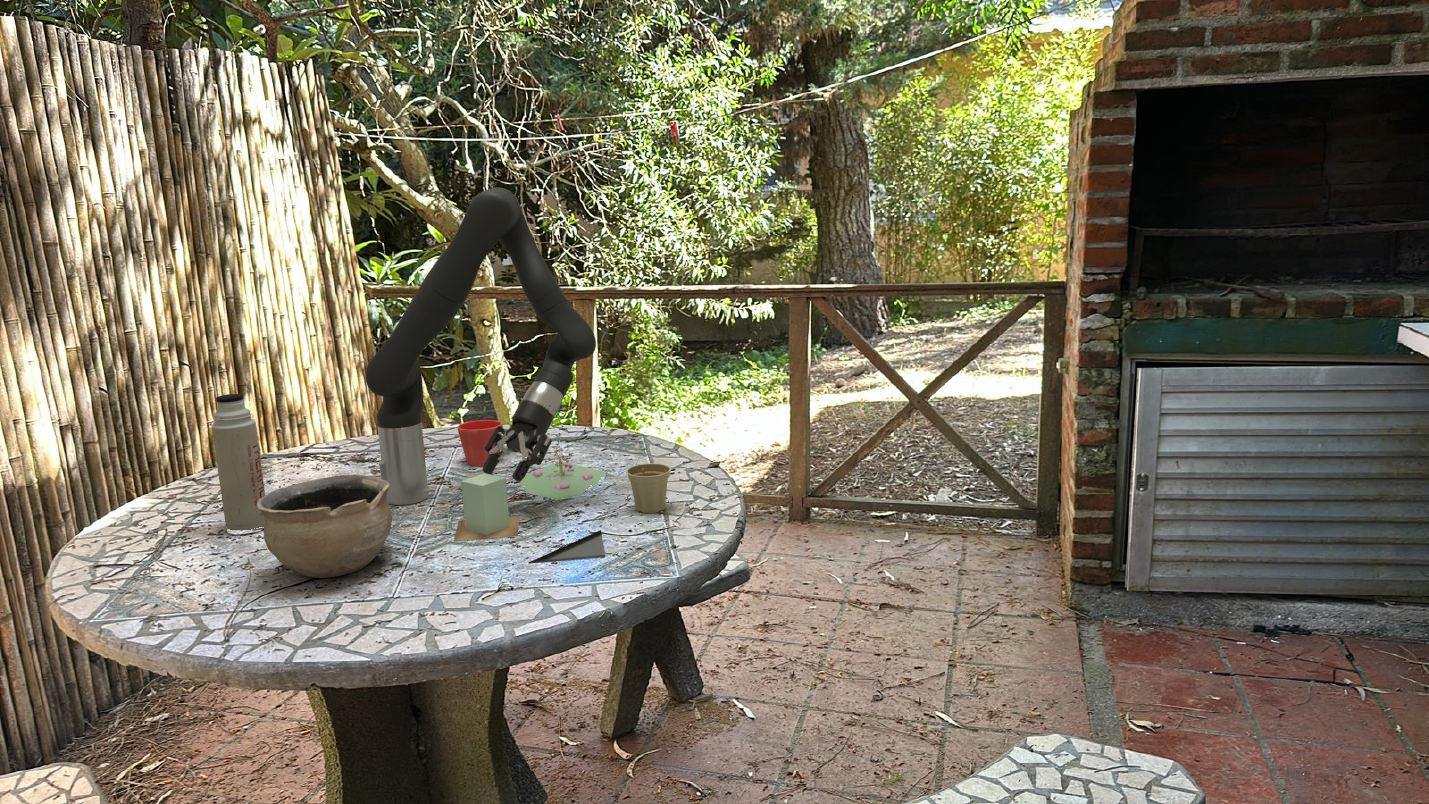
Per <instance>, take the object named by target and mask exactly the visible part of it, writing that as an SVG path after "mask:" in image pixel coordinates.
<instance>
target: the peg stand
mask: <svg viewBox="0 0 1429 804" xmlns="http://www.w3.org/2000/svg"><path fill="white" fill-rule="evenodd" d="M519 523H520V515H511V516H509V527H506V528H504V529H501V530H499V531H496V532H494V533H491V534H489V535H483V534H479V533H475V532H472V531H468V530H465V519H462V520H461V519H459V520H458V522H457V527H456V531H455V534H454V538H453V542H465V541H466V542H467V541H475V540H476V541H477V540H486V539H487V540H488V539H498V538H499V539H501V538H512V537H513V538H514V537H518V536H519V525H520V524H519Z"/></svg>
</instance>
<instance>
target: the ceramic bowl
mask: <svg viewBox="0 0 1429 804" xmlns="http://www.w3.org/2000/svg"><path fill="white" fill-rule="evenodd" d="M389 485H390V484H389V483H388V482H387V481H386V480H382V479H381V477H377V476H372V475H365V474H344V475H333V476H328V477H321V478H320V477H319V478H316V479H311V480H307V481H303V482H298V483H295V484H292V485H291V484H290V485H288V486H284V487H281V488H280V487H279V488H277V489H275V490H272V491H270V492H268V493H267V494H265V496H264V497H262V498H261V499H259V501H258V503H257V506H258V508H259V510H260V511H261V513H262V514H263V515H264V530H263V539H264V542H265V545H266V547H267V549H268V551H269V552H270V553H271V554H272V555H273V556H274V557H275V558H276V559H277V561H278V562H280V563H281V564H282V565H283V566H284V568H288V569H289V570H292V571H294V572H295V573H297V574H299V575H302V576H304V577H308V578H316V579H318V578H319V579H324V578H325V579H327V578H336V577H341V576H345V575H348V574H352V573H355V572H357V571H360V570H362V569H363V568H364V567H366V566H367V565H369V564H370V563H371V562H372V561H373V560H374V559H375V558H376V557H377V556H378V555H379V553H380V552H381V550H382V548H383V547H384V545H385V543H386V541H387V539H388V537H389V535H390V533H391V529H392V525H393V524H392V523H393V517H392V516H393V515H392V512H391V511H392V510H391V507H390V504H389V503H388V500H387V497H386V496H387V492H388V489H389Z"/></svg>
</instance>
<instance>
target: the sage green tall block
mask: <svg viewBox="0 0 1429 804" xmlns="http://www.w3.org/2000/svg"><path fill="white" fill-rule="evenodd" d="M460 482H461V492H462V493H461V494H462V504H463V516H464V519H463V520H465V530H468V531H472V532H475V533H479V534H483V535H489V534H491V533H494V532H496V531H499V530H501V529H504V528H506V527H509V514H510V513H509V503H508V501H509V500H508V491H507V490H508V489H507V478H506V477H504V476H500V475H495V474H492V475H490V474H486V473H484V472H483V473H481V474H479V475H475V476H472V477H470V478H467V479H463V480H461V481H460Z"/></svg>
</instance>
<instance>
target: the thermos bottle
mask: <svg viewBox="0 0 1429 804" xmlns="http://www.w3.org/2000/svg"><path fill="white" fill-rule="evenodd" d="M215 401H216V403H217V404H216V405H217V411H216V412H214V414H213V416H212V418H213V420H214V423H213V424H211V433H212V439H213V447H214V454H215V461H216V468H217V473H218V480H219V488H220V492H221V494H220V495H221V500H222V501H221V502H222V509H223V515H224V522H225V523H224V524H225V528H226V527H227V528H228V529H230V530H251V529H254V528H255V529H256V528H259V527H264V515H263V514H262V513H261V511H260V510H259V508H258V506H257V503H258V501H259V499H261V498H262V497H264V496H265V495H266V490H265V483H264V475H263V469H262V460H261V454H260V452H261V451H260V445H259V438H258V430H257V423H256V420H255V419H252V413H251V410H250V408H246V407H245V406H246V405H245V401H244V395H243V394H241V393H229V394H223V395H222V394H221V395H218V396H216V397H215Z"/></svg>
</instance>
